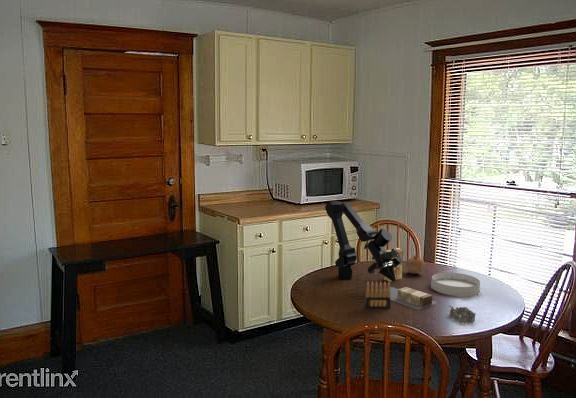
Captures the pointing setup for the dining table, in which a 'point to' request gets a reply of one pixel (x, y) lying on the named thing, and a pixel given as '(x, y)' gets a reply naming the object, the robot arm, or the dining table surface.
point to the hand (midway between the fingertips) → (394, 281)
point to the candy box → (399, 268)
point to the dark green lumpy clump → (462, 314)
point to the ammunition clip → (377, 296)
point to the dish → (456, 284)
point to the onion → (415, 264)
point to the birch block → (414, 296)
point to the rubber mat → (394, 298)
